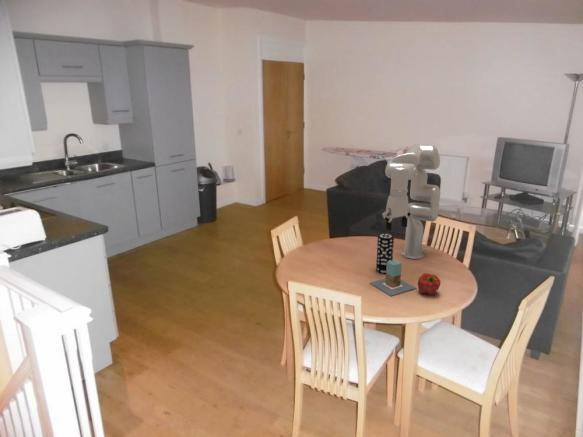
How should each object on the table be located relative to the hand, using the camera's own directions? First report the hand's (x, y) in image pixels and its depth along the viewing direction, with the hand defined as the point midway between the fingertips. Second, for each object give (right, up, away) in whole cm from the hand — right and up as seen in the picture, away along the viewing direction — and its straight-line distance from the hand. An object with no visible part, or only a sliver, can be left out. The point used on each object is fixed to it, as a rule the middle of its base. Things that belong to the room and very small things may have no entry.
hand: (396, 228), depth 201 cm
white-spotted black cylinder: (0, -24, +26) cm, 35 cm away
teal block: (0, -23, +7) cm, 24 cm away
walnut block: (0, -28, +9) cm, 30 cm away
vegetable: (+16, -31, +1) cm, 35 cm away
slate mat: (0, -29, +9) cm, 30 cm away
